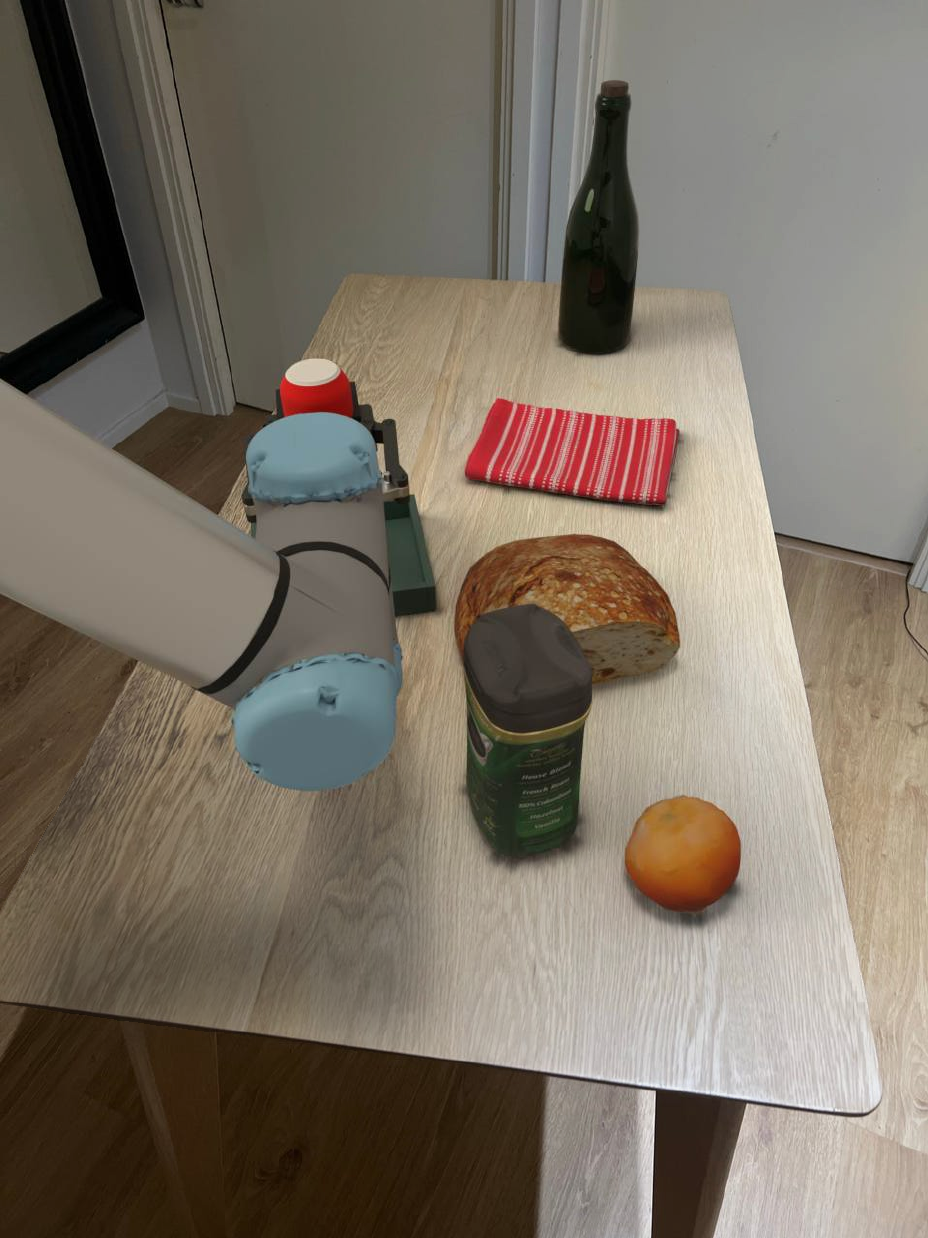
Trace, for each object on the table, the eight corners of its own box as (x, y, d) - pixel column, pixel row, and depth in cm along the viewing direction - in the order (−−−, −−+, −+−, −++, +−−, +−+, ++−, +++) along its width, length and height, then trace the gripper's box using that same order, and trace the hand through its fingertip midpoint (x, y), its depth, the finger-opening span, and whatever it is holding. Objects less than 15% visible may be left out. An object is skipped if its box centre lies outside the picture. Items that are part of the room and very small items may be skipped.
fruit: (721, 957, 60) (683, 865, 57) (631, 924, 66) (593, 840, 63) (780, 877, 64) (747, 788, 61) (690, 853, 70) (656, 772, 67)
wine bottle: (632, 356, 126) (663, 91, 103) (558, 355, 126) (572, 92, 104) (626, 323, 133) (654, 71, 111) (556, 323, 134) (570, 71, 111)
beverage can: (373, 476, 86) (361, 360, 78) (340, 510, 82) (323, 393, 74) (320, 462, 88) (302, 348, 80) (285, 495, 84) (262, 379, 76)
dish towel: (495, 411, 115) (495, 392, 114) (679, 434, 110) (683, 415, 109) (459, 484, 103) (458, 464, 102) (664, 513, 98) (667, 493, 97)
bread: (470, 717, 77) (468, 635, 71) (441, 583, 91) (437, 503, 84) (695, 687, 79) (714, 604, 73) (635, 560, 93) (646, 480, 86)
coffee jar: (591, 845, 68) (614, 678, 55) (493, 874, 66) (494, 709, 53) (545, 750, 75) (556, 582, 62) (455, 774, 73) (448, 607, 60)
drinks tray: (256, 634, 86) (250, 609, 83) (256, 537, 97) (250, 512, 95) (436, 611, 88) (435, 585, 85) (416, 518, 99) (414, 493, 97)
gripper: (216, 600, 69) (224, 443, 86) (456, 569, 71) (418, 422, 88) (194, 523, 64) (207, 372, 81) (453, 492, 66) (413, 351, 83)
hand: (317, 398), depth 84 cm, fingers closed on beverage can, 6 cm apart
